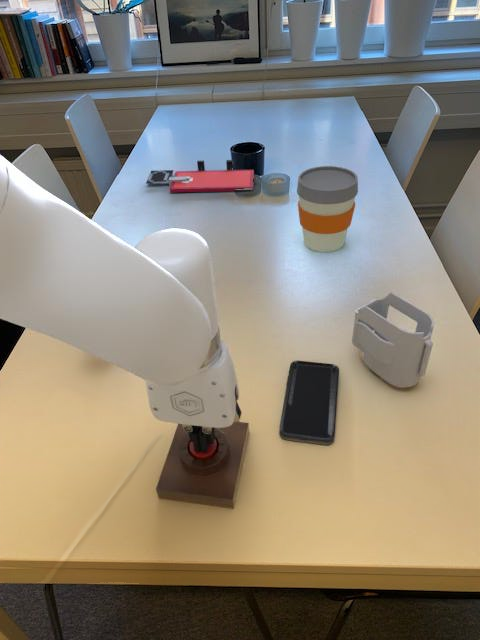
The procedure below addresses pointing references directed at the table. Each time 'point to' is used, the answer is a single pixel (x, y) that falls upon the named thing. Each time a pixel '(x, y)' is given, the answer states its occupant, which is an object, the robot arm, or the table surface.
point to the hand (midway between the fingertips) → (203, 443)
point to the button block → (205, 468)
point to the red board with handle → (204, 179)
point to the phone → (310, 403)
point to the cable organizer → (393, 341)
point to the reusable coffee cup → (326, 206)
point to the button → (202, 456)
